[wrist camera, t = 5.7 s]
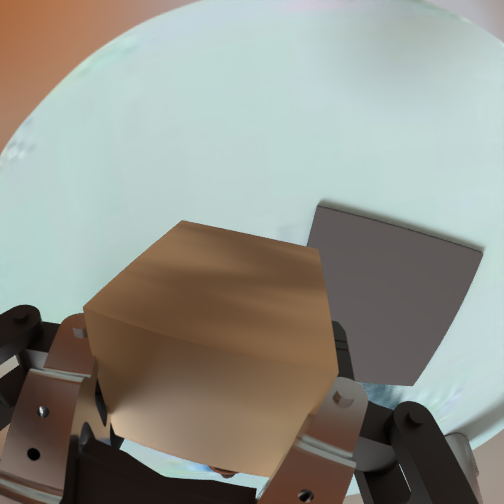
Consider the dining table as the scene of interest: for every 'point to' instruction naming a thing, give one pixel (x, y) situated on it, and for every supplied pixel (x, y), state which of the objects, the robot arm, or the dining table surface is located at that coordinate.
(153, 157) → the dining table surface
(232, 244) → the oak block
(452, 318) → the charcoal mat
